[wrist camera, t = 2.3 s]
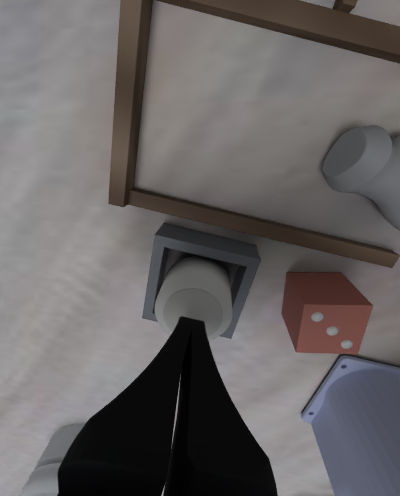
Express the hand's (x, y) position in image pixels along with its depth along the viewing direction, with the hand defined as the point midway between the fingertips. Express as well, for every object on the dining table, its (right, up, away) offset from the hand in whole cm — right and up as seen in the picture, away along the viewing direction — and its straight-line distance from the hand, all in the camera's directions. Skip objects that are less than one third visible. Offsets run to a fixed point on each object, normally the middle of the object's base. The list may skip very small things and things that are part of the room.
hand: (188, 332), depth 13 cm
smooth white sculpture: (+12, +10, +2) cm, 16 cm away
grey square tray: (+1, +3, +6) cm, 7 cm away
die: (+9, +1, +6) cm, 11 cm away
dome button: (0, +2, +4) cm, 5 cm away
